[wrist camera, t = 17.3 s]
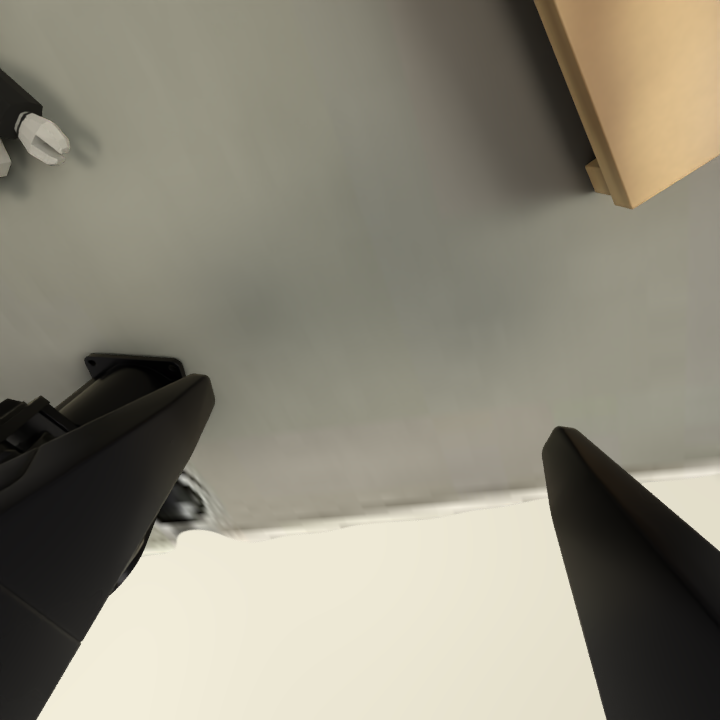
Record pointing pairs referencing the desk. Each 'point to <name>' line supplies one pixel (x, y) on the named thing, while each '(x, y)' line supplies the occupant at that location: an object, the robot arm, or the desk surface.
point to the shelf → (640, 87)
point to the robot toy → (28, 126)
